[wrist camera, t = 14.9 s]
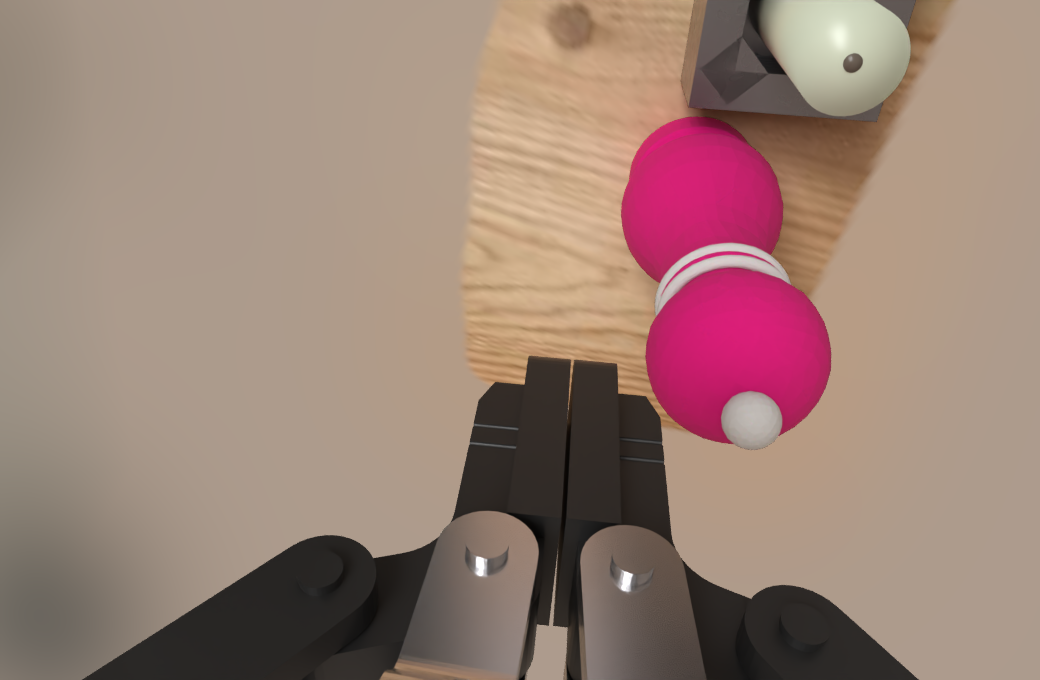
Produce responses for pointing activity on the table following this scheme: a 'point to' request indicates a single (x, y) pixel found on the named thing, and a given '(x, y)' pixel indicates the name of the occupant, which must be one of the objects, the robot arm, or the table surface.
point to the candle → (835, 50)
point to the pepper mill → (721, 287)
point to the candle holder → (747, 64)
